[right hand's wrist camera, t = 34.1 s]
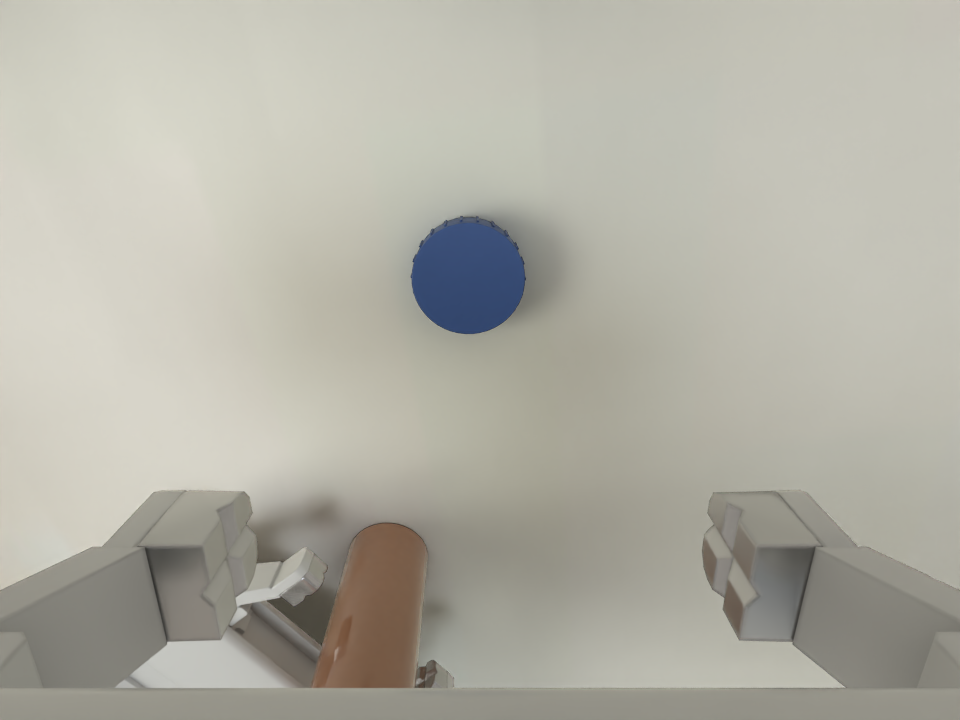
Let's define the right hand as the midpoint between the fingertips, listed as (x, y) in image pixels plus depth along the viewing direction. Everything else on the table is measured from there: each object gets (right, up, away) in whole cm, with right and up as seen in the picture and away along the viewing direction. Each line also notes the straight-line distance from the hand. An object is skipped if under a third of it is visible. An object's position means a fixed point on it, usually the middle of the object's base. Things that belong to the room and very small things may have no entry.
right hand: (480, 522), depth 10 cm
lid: (0, +7, +17) cm, 18 cm away
